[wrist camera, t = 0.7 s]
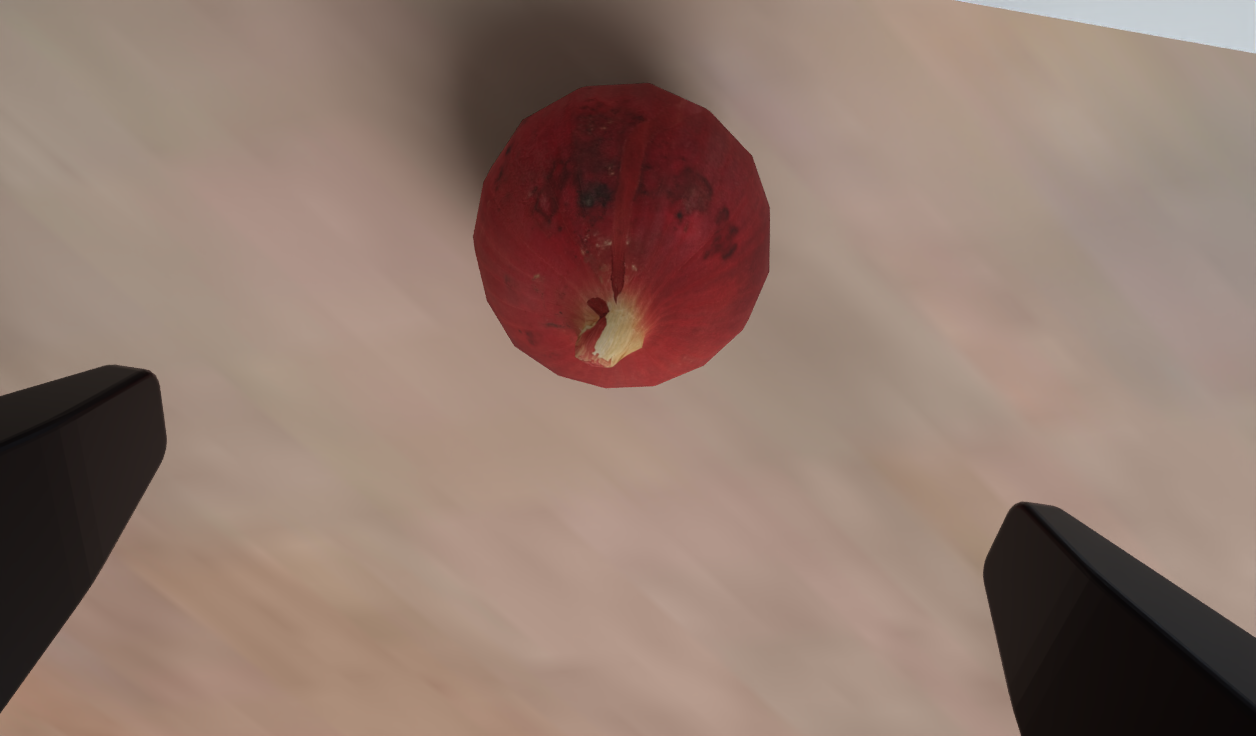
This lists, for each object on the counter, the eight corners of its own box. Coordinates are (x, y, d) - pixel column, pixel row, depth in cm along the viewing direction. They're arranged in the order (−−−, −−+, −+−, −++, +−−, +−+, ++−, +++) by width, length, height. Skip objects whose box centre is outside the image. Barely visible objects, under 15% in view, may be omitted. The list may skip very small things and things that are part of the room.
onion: (491, 67, 18) (385, 157, 11) (750, 47, 18) (808, 128, 11) (526, 305, 21) (459, 496, 14) (752, 291, 21) (799, 482, 14)
